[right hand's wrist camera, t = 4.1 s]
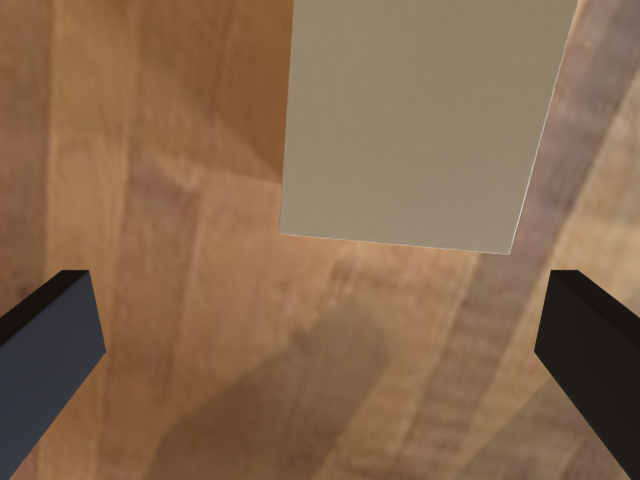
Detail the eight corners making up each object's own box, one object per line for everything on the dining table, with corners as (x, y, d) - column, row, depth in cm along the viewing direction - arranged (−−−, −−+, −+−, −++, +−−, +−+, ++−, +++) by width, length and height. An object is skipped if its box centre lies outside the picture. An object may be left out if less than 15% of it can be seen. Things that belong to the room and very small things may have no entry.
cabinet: (316, -161, 23) (313, -307, 14) (524, -136, 23) (650, -263, 14) (290, 186, 29) (278, 234, 20) (453, 201, 30) (509, 255, 21)
